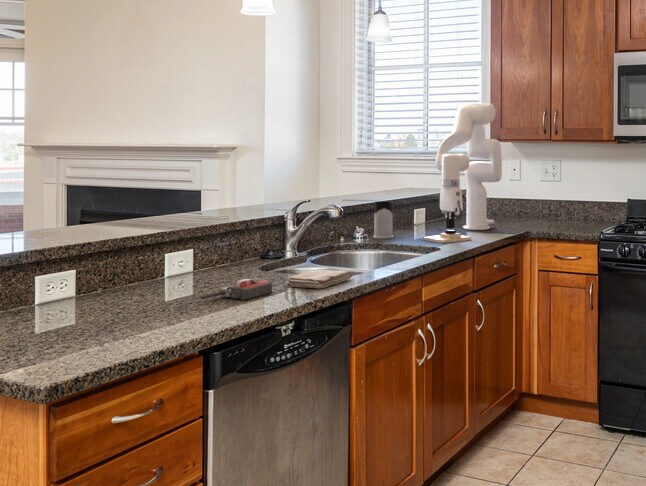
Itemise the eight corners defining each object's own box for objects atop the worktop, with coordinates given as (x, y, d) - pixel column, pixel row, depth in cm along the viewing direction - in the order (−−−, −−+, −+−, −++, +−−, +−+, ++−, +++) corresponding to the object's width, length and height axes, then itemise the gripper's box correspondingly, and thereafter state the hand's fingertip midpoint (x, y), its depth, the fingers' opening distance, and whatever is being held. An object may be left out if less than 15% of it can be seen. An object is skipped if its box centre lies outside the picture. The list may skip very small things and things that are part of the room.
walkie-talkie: (252, 288, 209) (197, 302, 191) (252, 273, 209) (197, 285, 191) (277, 292, 205) (223, 306, 187) (277, 276, 204) (223, 288, 187)
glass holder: (373, 238, 315) (373, 203, 315) (371, 234, 329) (371, 200, 329) (394, 238, 317) (394, 203, 317) (391, 234, 331) (391, 200, 331)
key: (451, 233, 312) (451, 229, 312) (455, 234, 309) (455, 230, 309) (445, 234, 310) (445, 230, 310) (450, 235, 307) (450, 230, 307)
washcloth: (284, 286, 212) (284, 276, 212) (319, 276, 228) (319, 266, 228) (319, 290, 207) (319, 279, 207) (352, 279, 223) (352, 269, 223)
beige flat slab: (452, 237, 321) (452, 230, 321) (471, 240, 312) (471, 232, 312) (423, 240, 311) (423, 233, 311) (441, 243, 302) (441, 236, 302)
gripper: (469, 184, 306) (469, 229, 306) (446, 182, 318) (445, 226, 318) (455, 185, 301) (455, 230, 301) (432, 183, 313) (432, 227, 313)
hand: (450, 228), depth 309 cm, fingers closed
